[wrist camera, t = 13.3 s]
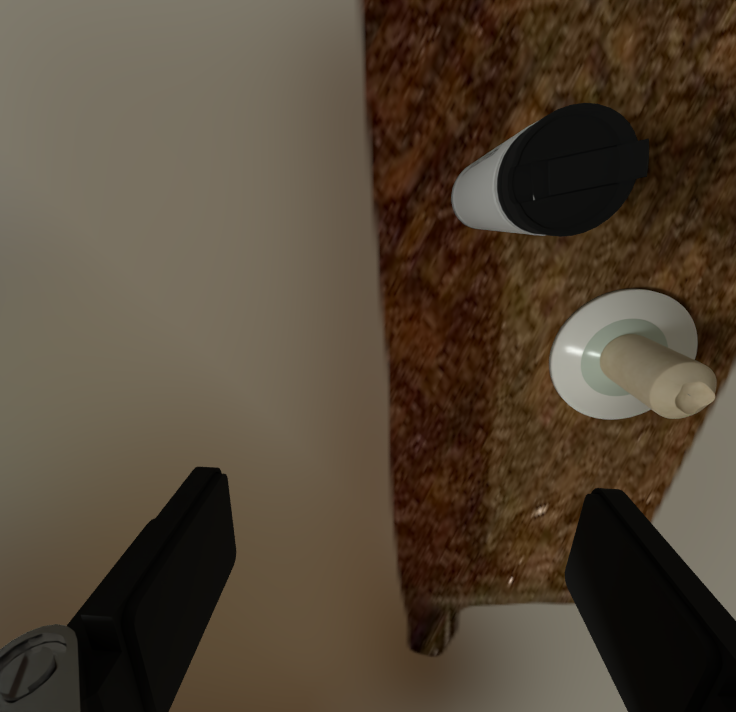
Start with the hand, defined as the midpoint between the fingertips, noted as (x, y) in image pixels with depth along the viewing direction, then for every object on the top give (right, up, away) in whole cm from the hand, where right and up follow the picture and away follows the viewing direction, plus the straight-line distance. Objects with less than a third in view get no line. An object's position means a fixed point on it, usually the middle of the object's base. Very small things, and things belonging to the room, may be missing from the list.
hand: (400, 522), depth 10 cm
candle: (+27, +4, +32) cm, 42 cm away
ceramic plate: (+27, +4, +32) cm, 43 cm away
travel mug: (+11, +20, +28) cm, 36 cm away
